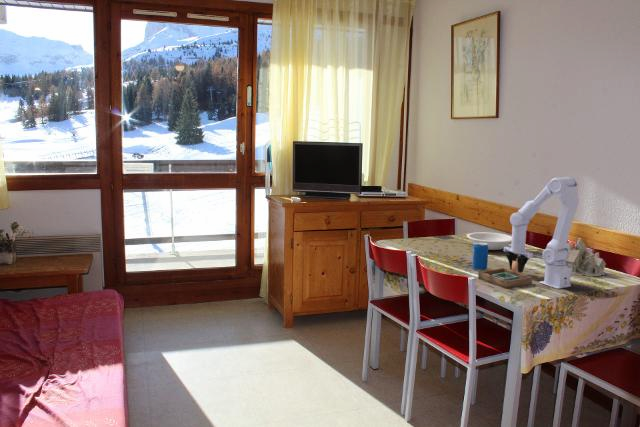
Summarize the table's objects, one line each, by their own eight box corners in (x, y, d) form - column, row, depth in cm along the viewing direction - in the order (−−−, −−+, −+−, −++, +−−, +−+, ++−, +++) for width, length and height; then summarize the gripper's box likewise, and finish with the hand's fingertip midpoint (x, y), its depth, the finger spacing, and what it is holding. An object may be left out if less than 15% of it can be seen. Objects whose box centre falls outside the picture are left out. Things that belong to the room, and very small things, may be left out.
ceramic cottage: (553, 269, 251) (558, 237, 247) (580, 267, 257) (585, 236, 254) (581, 280, 236) (587, 246, 233) (609, 278, 243) (615, 245, 240)
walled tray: (531, 284, 228) (532, 277, 227) (506, 288, 222) (506, 281, 221) (502, 274, 242) (503, 268, 241) (478, 278, 236) (478, 271, 235)
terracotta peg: (523, 274, 242) (524, 261, 241) (516, 275, 240) (517, 262, 239) (516, 272, 245) (517, 259, 244) (509, 273, 244) (510, 260, 243)
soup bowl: (523, 250, 288) (524, 238, 287) (493, 256, 274) (494, 243, 273) (486, 242, 307) (487, 230, 306) (456, 247, 294) (457, 235, 293)
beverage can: (470, 267, 253) (471, 241, 252) (484, 267, 253) (486, 242, 251) (474, 271, 247) (475, 245, 245) (488, 271, 247) (490, 245, 245)
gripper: (538, 242, 236) (536, 273, 238) (512, 236, 249) (510, 265, 251) (526, 244, 233) (524, 275, 235) (500, 237, 245) (499, 267, 248)
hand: (516, 270), depth 243 cm, fingers closed on terracotta peg, 4 cm apart
